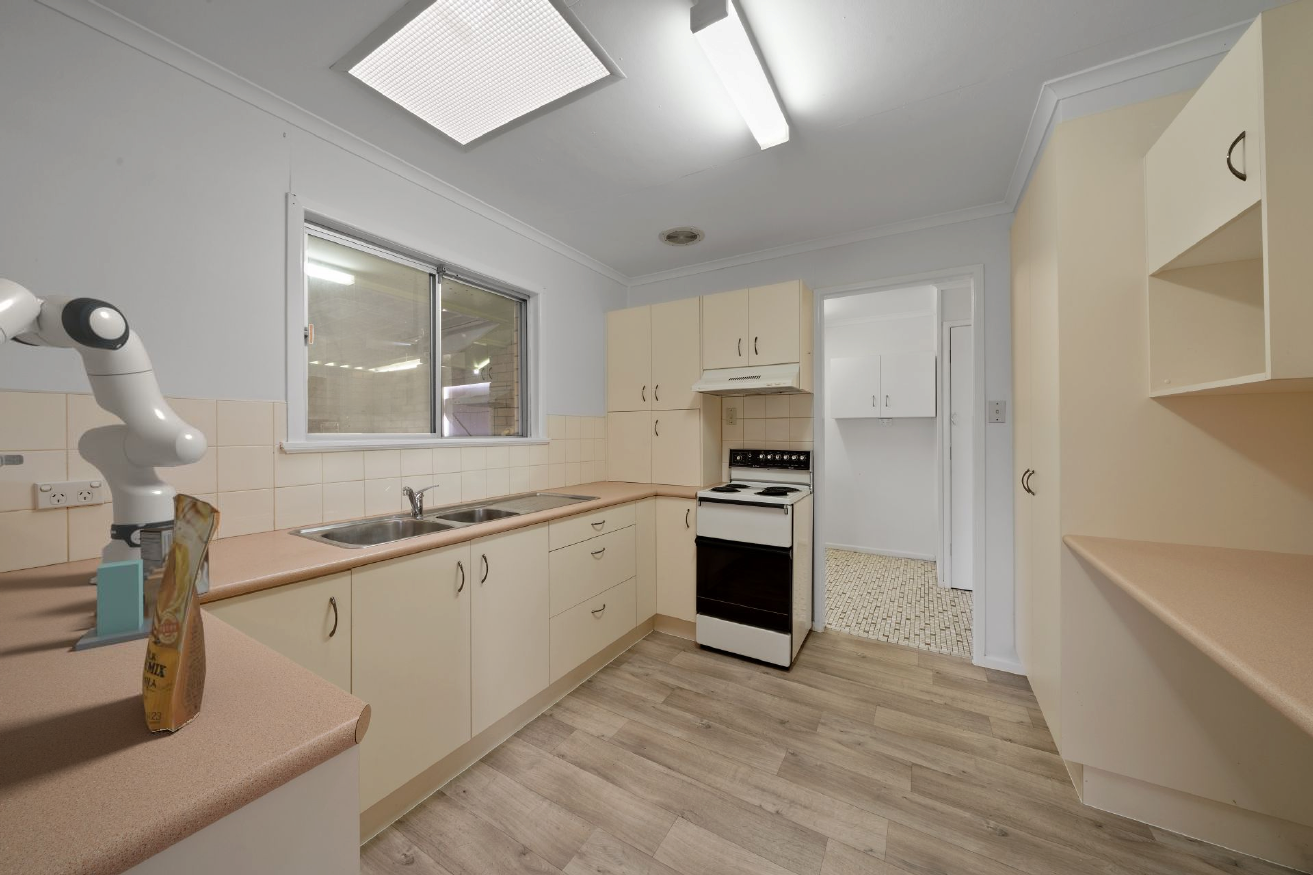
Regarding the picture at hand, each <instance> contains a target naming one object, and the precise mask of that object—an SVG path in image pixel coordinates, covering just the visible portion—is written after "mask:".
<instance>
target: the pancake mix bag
mask: <svg viewBox="0 0 1313 875" xmlns="http://www.w3.org/2000/svg"><path fill="white" fill-rule="evenodd" d="M173 501H174V527H173V535H172V543H171V547H170V550H169V554H168V559H167V563H166V568H165V572H164V575H163V578H162V582H161V585H160V589H159V593H158V597H157V601H156V606H155V611H154V616H153V621H152V626H151V630H150V635H149V637H148V642H147V647H146V652H145V658H144V663H143V670H142V671H143V672H142V683H141V687H142V688H141V689H142V690H141V691H142V700H143V705H144V706H143V707H144V712H145V721H146V724H147V727H148V729H150V730H149V732H150V733H151V732H152V731H157V730H160V729H167V728H168V729H170V730H171V731H172V732H174V731H175V730H176V729H178V728H179V727H181V726H182V725H183V724H184V723H187V721H189V720H190V719H193V718H194V716H195V715H196V714H197V713H198V712H200V711H201V705H202V700H203V696H204V695H203V694H204V690H205V681H206V674H207V658H206V644H205V641H206V640H205V631H204V622H203V617H202V613H201V605H200V598H199V597H200V596H199V594H198V592H197V588H196V584H195V582H196V578H197V574H198V572H199V569H200V567H201V564H202V562H203V559H204V557H205V554H206V551H207V549H208V547H209V546H210V545H211V544H210V543H211V541H212V539H213V537H214V535H215V533H216V531H217V529H218V527H219V525H220V518H221V517H220V516H221V511H219V510H218V508H215V506H214V505H212V504H211V503H210V502H207V501H204V500H200V499H198V498H197V497H195V496H193V495H188V494H184V493H176V496H174V497H173ZM200 713H201V712H200ZM172 732H171V733H172ZM174 733H175V732H174Z"/></svg>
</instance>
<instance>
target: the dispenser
mask: <svg viewBox="0 0 1313 875" xmlns="http://www.w3.org/2000/svg"><path fill="white" fill-rule="evenodd" d="M164 572H165V568H159V569H155V565H153V566H151V567H150V568H149V569H148V570H147V571H146V573H145V574H144V575H143V581H144V580H145V594H143V619H148V618H153V616H154V611H155V606H156V601H157V597H158V593H159V589H160V585H161V582H162V578H163V575H164ZM93 614H94V628H95V627H97V610H95V611H94V613H93Z"/></svg>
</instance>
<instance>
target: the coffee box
mask: <svg viewBox="0 0 1313 875" xmlns="http://www.w3.org/2000/svg"><path fill="white" fill-rule="evenodd" d="M173 527H174V525H167V526H161V527H155V528H149V529H143V530H140V551H141V559H143V575H144V574H145V573H146V571H147V570H148V569H149V568H150V567H151V566H153V565H155V569H159V568H166V563H167V559H168V554H169V550H170V547H171V543H172V535H173ZM209 557H210V550H209V546H208V549H207V551H206V554H205V557H204V559H203V562H202V564H201V567H200V569H199V572H198V574H197V578H196V582H195V584H196V588H197V592H198V595H201V594H205V593H207V592H210V590H211V589H210V560H209ZM143 594H145V580H144V581H143Z"/></svg>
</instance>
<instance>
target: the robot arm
mask: <svg viewBox="0 0 1313 875" xmlns="http://www.w3.org/2000/svg"><path fill="white" fill-rule="evenodd" d="M8 341H12V342H16V343H18V344H22V345H25V346H26V345H27V346H32V347H48V348H59V349H72V348H73V349H75V350H76V351H77V352H78V353H79V354H80V356H81V357H82V363H83V367H84V370H85V373H86V376H87V379H88V381H89V385H90V386H91V390H92V393H93V396H94V398H95V402H96V404H97V405H98V406H99V407H100V408H101V409H103V411H106V412H108V413H111V414H112V415H115V416H117V417H118V418H119V419H120V420H121V421H122V422H123V424H120V423H119V424H118V423H117V424H109V425H103V426H99V427H94V428H90V429H87V430H86V431H84V432H83V434H82V435H81V436H80V437H79V440H78V443H77V449H78V453H79V455H80V456H81V458H82V459H83V460H84V461H86V462H87V463H89V465H90V464H91V465H92V466H93V467H95V468H96V469H97V470H98V471H99V472H100V473H101V475H102V476H103V478H104V480H105V481H106V482H107V485H108V486H109V490H110V492H111V498H112V510H113V511H112V514H113V516H112V517H113V523H112V524H111V525H110V530H109V532H110V539H111V541H110V542H109V543H108V544H107V545H105V546H104V547H102V549H101V555H100V556H101V557H100V558H101V559H100V566H101V565H102V564H106V563H114V562H123V561H131V560H140V559H141V551H140V530H143V529H149V528H155V527H161V526H167V525H174V501H173V497H174V496H176V495H177V492H176V489H175V487H173V485H172V484H170V483H168V482H166V481H163V479H161V478H160V477H159V475H158V474H157V472H156V469H155V468H159V467H160V468H173V467H180V466H186V465H191V464H195V463H198V462H199V461H200V460H202V459H203V457H204V456H205V454H206V453H207V450H208V441H207V438H206V436H205V435H204V434H203V432H202V431H201V430H200V429H198V428H196V427H194V426H193V425H190V424H189V423H187V422H186V421H184V420H183V419H182V418H180V416H179V415H177V414H176V413H175V412H174V410H173V409H172V408H171V406H169V404H168V402H167V401H166V399H165V398H164V396H163V393H162V390H161V389H160V385H159V383H158V379H157V377H156V374H155V370H154V367H153V364H152V361H151V359H150V356H149V354H148V351H147V350H146V347H145V345H144V344H143V342H142V340H141V339H140V337H139V336H138V334H137V333H136V332H135V331H134V330H133V329H132V328H130V326H129V323H128V321H127V319H126V317H125V315H124V314H123V312H121V310H120V309H119V308H117V307H116V306H115V305H114V304H111V303H109V302H107V301H104V300H101V299H98V298H92V297H75V296H68V295H47V296H46V295H44V296H43V295H40V296H39V295H37V296H36V295H35V294H34V293H32V291H31V290H29V289H28V288H26V287H25V286H23V285H22V284H20V283H18V282H15V281H13V280H11V279H7V278H3V277H0V347H1V346H2V345H4V344H6V343H7V342H8ZM25 458H26V457H25V456H24V454H0V468H1V467H3V466H20V465H21V466H22V465H24V464H25V461H26V460H25ZM89 584H97V575H96V576H94V577H92V578H90V581H89Z"/></svg>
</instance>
